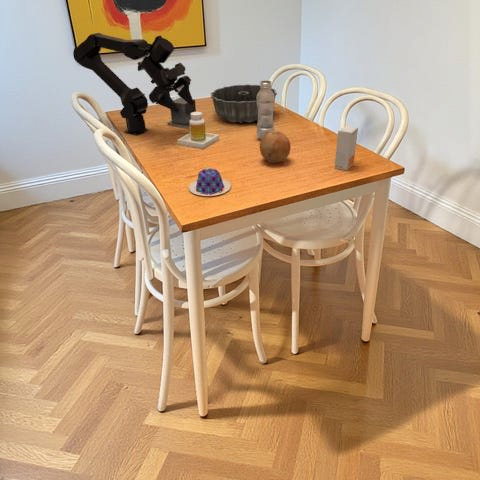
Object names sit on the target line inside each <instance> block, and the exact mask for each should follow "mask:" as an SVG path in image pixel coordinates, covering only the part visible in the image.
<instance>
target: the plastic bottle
mask: <svg viewBox="0 0 480 480" xmlns="http://www.w3.org/2000/svg"><path fill="white" fill-rule="evenodd" d="M259 83H260V84H259V85H260V88H261V90H260V91H259V92H258V94H257V97H256V100H257V107H258V121H257V125H256V131H255V132H256V138H257V139H258V140H260V141H261V140H262V138H263V136H264V135H265V134H266V133H267V132H270V131H275V125H274V108H275V103H276V102H275V101H276V97H275V96H274V94H273V92H272V90H271V88H272V81H270V80H261V81H260V82H259ZM274 102H275V103H274Z"/></svg>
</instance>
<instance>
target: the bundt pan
mask: <svg viewBox="0 0 480 480" xmlns="http://www.w3.org/2000/svg"><path fill="white" fill-rule="evenodd" d="M260 90H261V88H260V84H235V85H230V86H223V87H221V88H220V87H219V88H217V89H214V90H213V92H210V98H211V99H212V103H213V107H214V110H215V114H216V115H217V116H218V117H219V118H220V119H222V120H223V121H225V122H231V123H237V122H238V123H240V124H243V123H253V122H258V107H257V100H256V97H257V94H258V92H259V91H260ZM271 90H272V92H273V94H274V96H275V98H276V96H277V95H278V93H277V92H276V91H277V90H276V89H275V88H272V87H271ZM275 103H276V102H274V104H275Z"/></svg>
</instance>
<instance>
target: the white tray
mask: <svg viewBox="0 0 480 480" xmlns="http://www.w3.org/2000/svg"><path fill="white" fill-rule="evenodd" d="M205 133H206V140H205V141H204V142H200V143H199V142H193V141H191V136H190V132H189V133H187V134H186V135H183V136H182V137H180V138H178V139H177V144H178V146H184V147H189V148H190V147H191V148H195V149H200V150H205V149H207V147H209V146H211V145H213V144H214V143H216V142H218V141H219V140H220V135H219V134H216V133H212V132H211V133H210V132H205Z"/></svg>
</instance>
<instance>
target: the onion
mask: <svg viewBox="0 0 480 480" xmlns="http://www.w3.org/2000/svg"><path fill="white" fill-rule="evenodd" d="M259 152H260V155H261V156H262V158H263V159H265V160H266V161H268V162H270V163H273V164H276V163H281V162H283V161H284V160H286V159H288V157H289V156H290V153H291V141H290V139H289V137H288V136H287V135H286V134H285V133H284V132H281V131H279V130H274V131H270V132H267V133H266V134H265V135H264V136H263V138H262V140H260V143H259Z"/></svg>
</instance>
